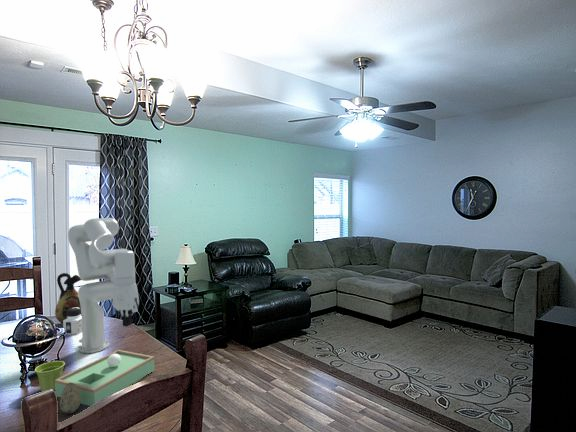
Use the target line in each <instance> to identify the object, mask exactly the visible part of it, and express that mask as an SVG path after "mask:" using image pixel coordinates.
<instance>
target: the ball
mask: <svg viewBox="0 0 576 432" xmlns="http://www.w3.org/2000/svg"><path fill="white" fill-rule="evenodd" d="M120 362H121V357H120V355H118V354H112V355H110V356H109V357H108V359H107V364H108V365H109V366H110V367H116V366H118V365H119V364H120Z"/></svg>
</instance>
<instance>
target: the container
mask: <svg viewBox="0 0 576 432" xmlns="http://www.w3.org/2000/svg"><path fill="white" fill-rule="evenodd" d="M63 328H64V329H65V330H66V334H65V335H79V334H81V333H82V316H81V309H80V308H78V307H75V308H70V309H68V310H67V319H65V320H63V326H62V329H63Z"/></svg>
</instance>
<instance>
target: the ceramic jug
mask: <svg viewBox="0 0 576 432" xmlns="http://www.w3.org/2000/svg"><path fill="white" fill-rule="evenodd" d="M65 277H66V278H67V279H66V280H64V282H63V283H62V282H61V279H62V278H65ZM81 281H82V280H81V279H80V277H79V275H78V274H75V275H73V276H72V275H70V274H69V273H67V272H62V273H60V274H58V275H57V279H56V282H57V286H58V287H59V290H60V294H59V299H58V301H57V303H56V306H55V308H54V316H55V318H56V320H57V321H58V322H59V323H61V327H63V320H65V319H67V310H68V309H70V308H75V307H78V308H80V309H81V305H80V300H79V296H78V290H76V288H75V286H74V285H75V284H76V283H78V282H81ZM62 284H63V285H66V288H65V289H64V287H63V285H62ZM81 316H82V315H81Z"/></svg>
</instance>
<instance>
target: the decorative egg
mask: <svg viewBox="0 0 576 432" xmlns="http://www.w3.org/2000/svg"><path fill="white" fill-rule="evenodd" d="M80 406H81V396H80V392H79V390H78V388H77V386H76V385H75V384H74V383H68V384H67V385H66V386H65V387H64V389H63V391H62V394H61V398H60V397H59V407H60V410H61V411H62V412H63V413H64V414H67V415H71V414H73V413H75V412H76V411H77V410H78V409H79V407H80Z"/></svg>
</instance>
